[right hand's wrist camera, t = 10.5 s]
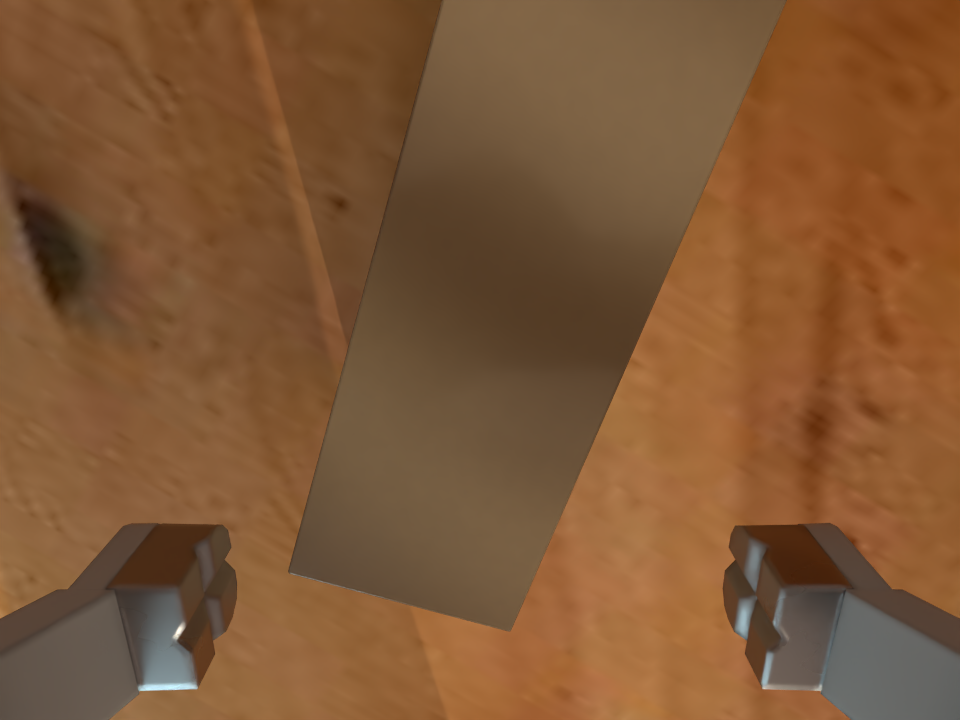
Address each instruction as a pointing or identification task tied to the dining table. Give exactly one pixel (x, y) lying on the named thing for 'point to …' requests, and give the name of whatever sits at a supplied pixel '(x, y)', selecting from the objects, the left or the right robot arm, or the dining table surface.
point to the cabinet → (515, 284)
